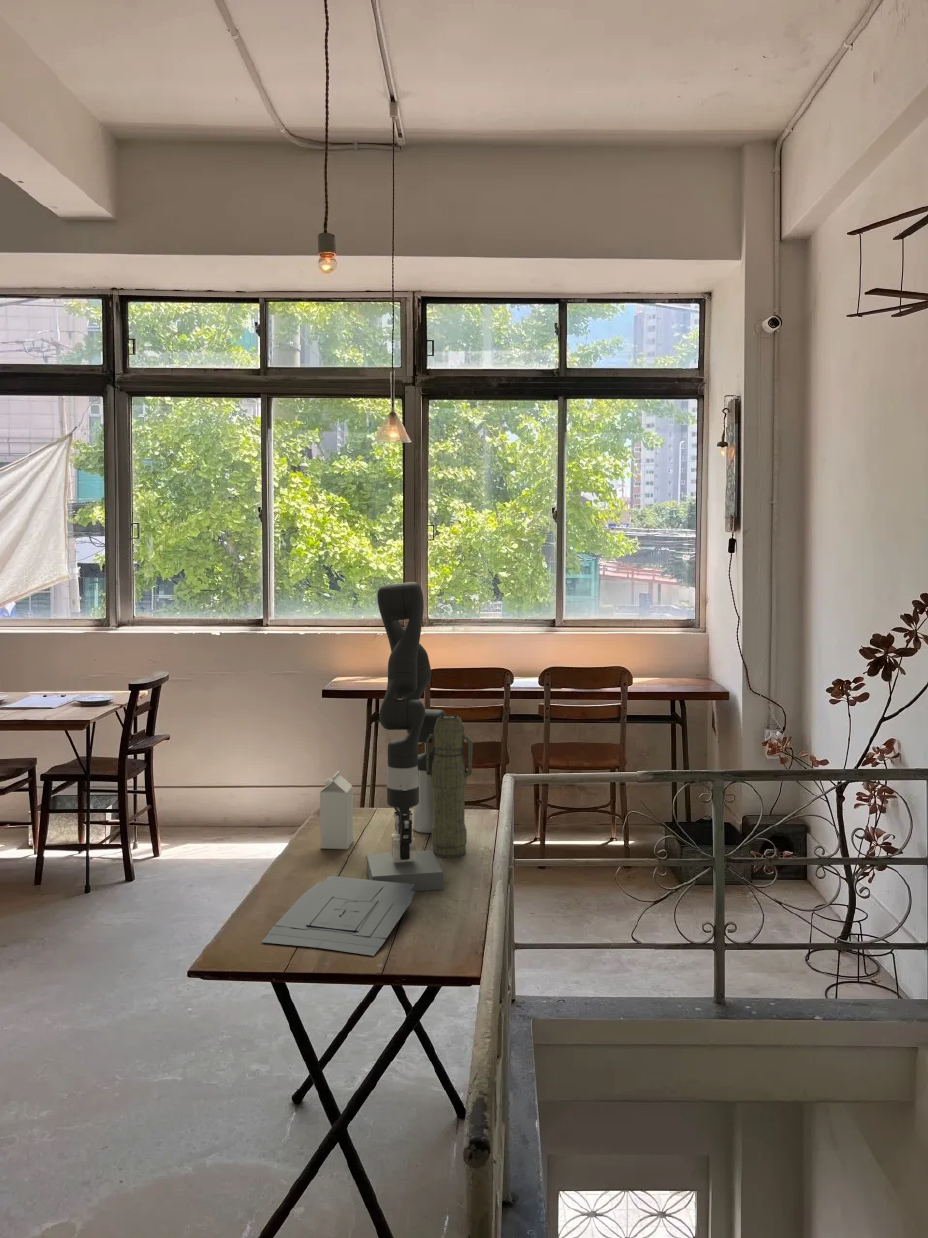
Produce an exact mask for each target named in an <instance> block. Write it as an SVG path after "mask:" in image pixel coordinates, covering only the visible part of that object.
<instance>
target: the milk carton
mask: <svg viewBox="0 0 928 1238" xmlns="http://www.w3.org/2000/svg"><path fill="white" fill-rule="evenodd" d="M340 772H341V771H340V770H338V771H337V772H336V773H335V774H334V775H333V776H332V778H331V777H328V778H327V779H326V780H324V782H323V784H324V785H325V786H324V787H323V789H322V790H320V792H319V816H320V817H319V818H320V819H319V823H320V824H319V825H320V826H319V827H320V832H319V833H320V836H319V837H320V838H319V839H320V849H323V850H324V849H325V850H326V849H327V850H328V849H329V850H348V849H349V848H350V846H351V845H352V844H353V842H354V811H353V810H354V807H353V804H354V803H353V802H354V801H353V800H354V799H353V794H354V793H353V785H352V784H351V783H350V782H349V781H348V780H346V779H345V778H344V777H343V776H342V775H340V774H341V773H340Z"/></svg>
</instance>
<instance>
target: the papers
mask: <svg viewBox="0 0 928 1238" xmlns="http://www.w3.org/2000/svg"><path fill="white" fill-rule="evenodd" d="M414 885H415V884H407V883H396V882H385V881H374V880H369V879H363V878H354V877H353V878H352V877H345V876H335V875H328V876H327V877H326V878H325V880H324V881H317V882H316V883H315V884H314V885H313V886H312V887H309V888H308V890H306V891H305V892H304V893H302V895H301V896H300V897H299V898H298V899H297V900H296V901H295V902H294V903H293V904H292V906H291V907H290V908H289V909H288V910H286V912H285V913H284V914H282V916H281V917H280V918H279V920H277V922H276V923H275V924H274V926H273V927H272V928H271V929H270V930H269V931H268V932H267V935H266V936H265V937H264V938H263V939H262V941H261V943H265V944H276V945H277V944H279V945H285V946H286V945H287V946H297V947H309V948H318V949H326V950H332V951H338V952H345V953H350V954H351V953H353V954H360V955H365V956H371V957H374V956H375V955H376V954H377V952H379V950H380V948H381V947H382V946H383V944H384V943H385V941H386V940H387V938H388V936H389V935H390V934H391V933H392V930H394V928H395V927H396V925H397V924H398V922H399V920H400V919H401V918H402V916H403V914H404V913H405V911H406V910H407V908H409V906H410V905H411V903H412V901H413V896H414V895H415V893H416V891H411V890H412V888H413V887H414Z"/></svg>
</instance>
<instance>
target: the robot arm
mask: <svg viewBox="0 0 928 1238" xmlns="http://www.w3.org/2000/svg"><path fill="white" fill-rule="evenodd" d="M376 593H377V595H376V598H377V606H378V610H379V614H380V616H381V620H382V622H383V623H382V624H383V627H384V629H385V632H386V636H387V639H388V642H389V643H388V644H389V647H390V652H391V653H390V655H389V658H388V662H387V684H386V691H385V695H384V697H383V700H382V704H381V706H380V709H379V713H378V714H379V715H378V718H379V723H380V725H381V726H382V728H384V730H387V731H396V730H397V731H404V730H406V733H407V735H405V736H404V737H400V738H395V739H393V740H390V741H389V742H388V744H387V768H386V769H387V770H386V803H387V805H388V806H389V807H392V808H394V811H393V817H394V830H395V834H397V833H398V834H399V840H400V841H399V843H400V859H401V860H408V859H409V858H410V843H411V842H412V833H413V830H414V831H415V832H417V833H422V834H432V829H433V826H434V788H433V786H432V777H430V775H427V773H426V752H424V753H420V754H418V753H419V749H418V748H419V744H426V739H427V738H428V736H429V735H430V734H433V733H434V727H435V723H436V720H437V718H438V717H440V716H443V715H447V713H446V711H444V710H443V709H434V708H433V709H432V708H431V709H429V708H426V707H425V705H424V703H423V701H421V700H420V699H421V696H422V695H423V693H424V692H425V690H426V688H427V687H428V686H429V683H430V681H431V678H432V669H431V663H430V659H429V655H428V652H427V650H426V649H425V648H424V647H423V645H422V644H421V643H420V641H421V634H422V628H423V627H422V625H423V618H424V609H425V608H424V605H425V604H424V603H425V602H424V601H425V600H424V594H423V591H422V587H421V585H420V584H419V583H418V582H416V581H407V582H398V583H388V584H383V585H381V586H380V587H379V588H378V589H377V592H376ZM403 620H408V621H407V625H406V628H404V627H403V626H402V624H401V621H403ZM429 744H432V748H431V749H429V771H431V770H432V762H433V759H434V752H435V748H434V739H432V738H430V739H429ZM411 807H412V810H411V809H410V808H411ZM404 835H408V838H403V836H404Z"/></svg>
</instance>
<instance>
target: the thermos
mask: <svg viewBox="0 0 928 1238" xmlns="http://www.w3.org/2000/svg"><path fill="white" fill-rule="evenodd" d="M464 731H465V728H464V724H463V720H462V718H461V717H460V716H458V715H454V714H453V715H452V714H446V715H443V716H440V717H438V718H437V720H436V723H435V727H434V733H433V734H430V735H429V736H428V738H427V739H426V743H425V753H426V773H427V775H430V777H432V786H433V788H434V826H433V829H432V833H431V843H432V851H433V853H434V855H435V857H436V856H437V857H440V858H450V859H451V858H458V857H462V856H464V855H465V854H466V853H467V847H466V845H467V842H468V841H467V837H468V836H467V835H468V834H467V833H468V831H467V827H466V824H465V823H466V822H465V821H466V820H465V789H466V786H467V777H470V775H471V774H472V773H473V743H474V742H473V739H472V738H471V737H470V735H468V734H465V732H464ZM430 738H432V739H434V748H435V752H434V759H433V762H432V770H431V771H429V751H430V743H429V739H430ZM464 740H466V742H467V762H466V759H465V752H464V748H465V747H464V746H465V741H464Z"/></svg>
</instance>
